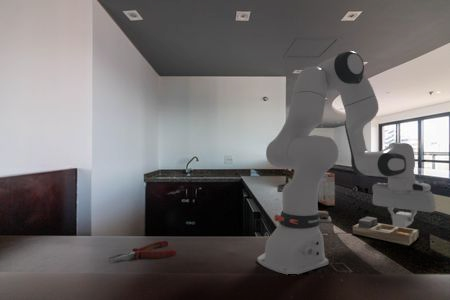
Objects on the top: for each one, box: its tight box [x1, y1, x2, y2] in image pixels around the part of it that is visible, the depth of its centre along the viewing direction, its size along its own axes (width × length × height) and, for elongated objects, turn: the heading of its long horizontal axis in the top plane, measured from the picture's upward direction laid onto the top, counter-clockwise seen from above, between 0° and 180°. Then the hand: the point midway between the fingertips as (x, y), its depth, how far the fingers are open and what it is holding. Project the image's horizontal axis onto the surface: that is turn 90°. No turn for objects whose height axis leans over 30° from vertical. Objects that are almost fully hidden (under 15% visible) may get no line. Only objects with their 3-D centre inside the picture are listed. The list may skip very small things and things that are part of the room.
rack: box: [352, 216, 419, 246], centre depth 104 cm, size 13×20×6 cm
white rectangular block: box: [391, 211, 413, 228], centre depth 100 cm, size 9×4×4 cm, turn 131°
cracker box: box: [318, 171, 336, 207], centre depth 172 cm, size 14×6×21 cm, turn 1°
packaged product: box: [318, 210, 332, 223], centre depth 132 cm, size 18×5×10 cm
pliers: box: [109, 240, 177, 262], centre depth 85 cm, size 12×20×3 cm, turn 119°
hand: (402, 220), depth 100 cm, fingers closed on white rectangular block, 4 cm apart
